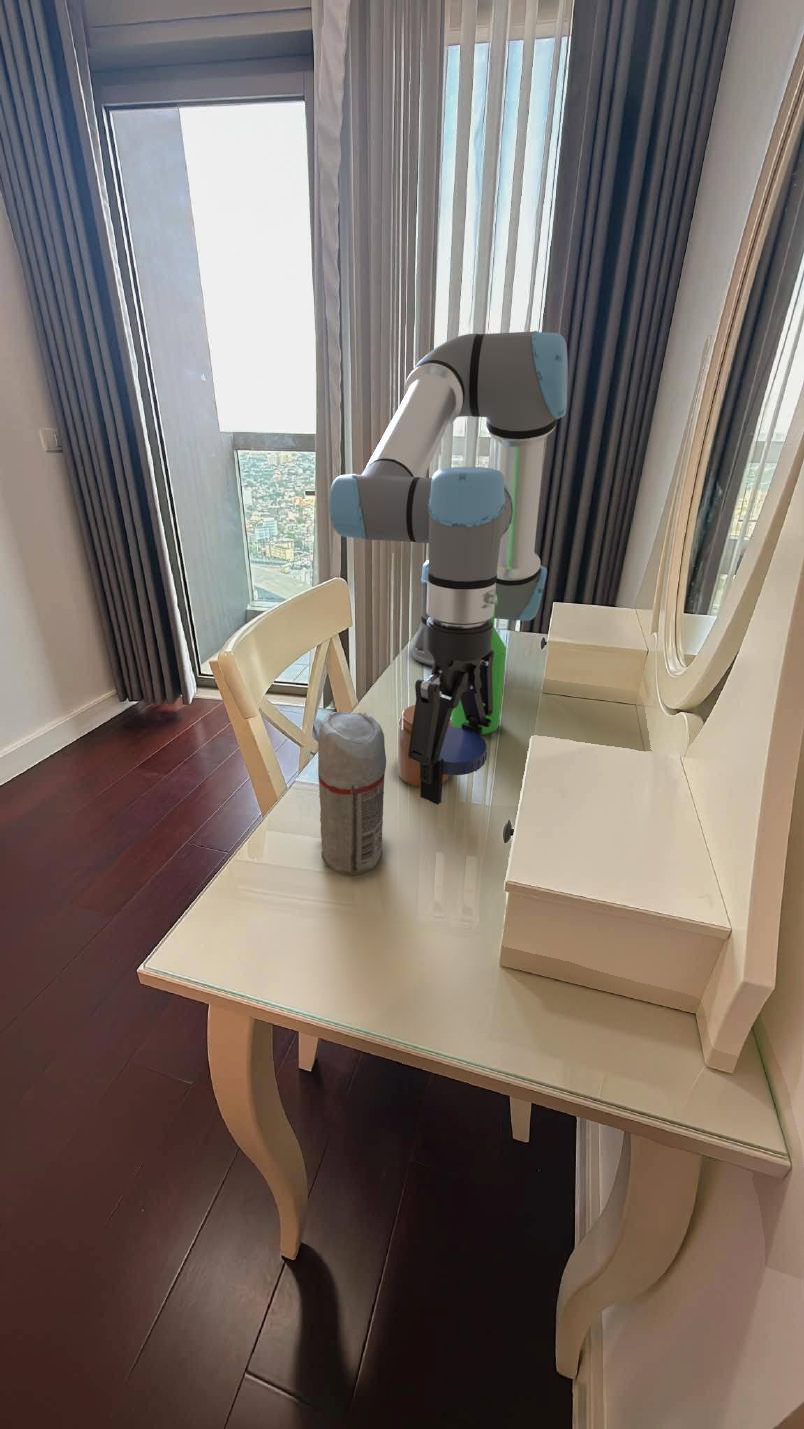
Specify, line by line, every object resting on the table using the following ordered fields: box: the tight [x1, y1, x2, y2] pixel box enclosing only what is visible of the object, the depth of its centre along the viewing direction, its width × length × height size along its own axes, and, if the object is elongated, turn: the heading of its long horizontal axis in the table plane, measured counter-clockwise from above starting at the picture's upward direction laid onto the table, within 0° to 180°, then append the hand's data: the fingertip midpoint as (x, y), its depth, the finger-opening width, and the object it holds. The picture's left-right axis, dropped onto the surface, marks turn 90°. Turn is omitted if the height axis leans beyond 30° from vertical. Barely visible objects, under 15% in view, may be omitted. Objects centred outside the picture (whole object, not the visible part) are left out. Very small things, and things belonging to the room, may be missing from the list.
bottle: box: [450, 594, 507, 736], centre depth 98 cm, size 9×9×25 cm
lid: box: [439, 726, 488, 776], centre depth 72 cm, size 9×9×2 cm
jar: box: [397, 704, 454, 788], centre depth 88 cm, size 8×8×11 cm
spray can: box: [317, 710, 387, 876], centre depth 70 cm, size 8×8×20 cm
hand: (450, 782), depth 74 cm, fingers closed on lid, 8 cm apart
